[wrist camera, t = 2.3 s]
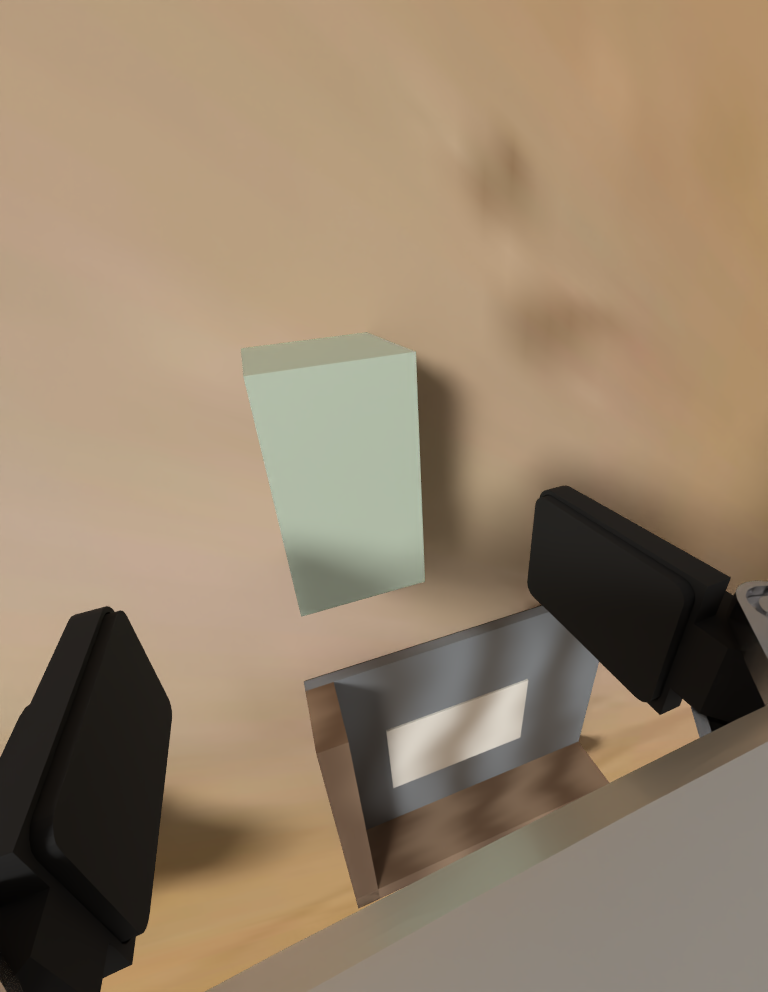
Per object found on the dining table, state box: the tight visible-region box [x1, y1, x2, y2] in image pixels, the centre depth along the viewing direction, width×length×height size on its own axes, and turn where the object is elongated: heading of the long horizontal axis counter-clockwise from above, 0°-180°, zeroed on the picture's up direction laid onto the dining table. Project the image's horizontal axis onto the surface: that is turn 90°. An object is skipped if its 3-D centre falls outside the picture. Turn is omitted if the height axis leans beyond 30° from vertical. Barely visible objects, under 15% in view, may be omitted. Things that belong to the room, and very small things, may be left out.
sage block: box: [241, 332, 425, 617], centre depth 15 cm, size 4×8×5 cm, turn 5°
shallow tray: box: [304, 606, 609, 908], centre depth 27 cm, size 20×18×4 cm
